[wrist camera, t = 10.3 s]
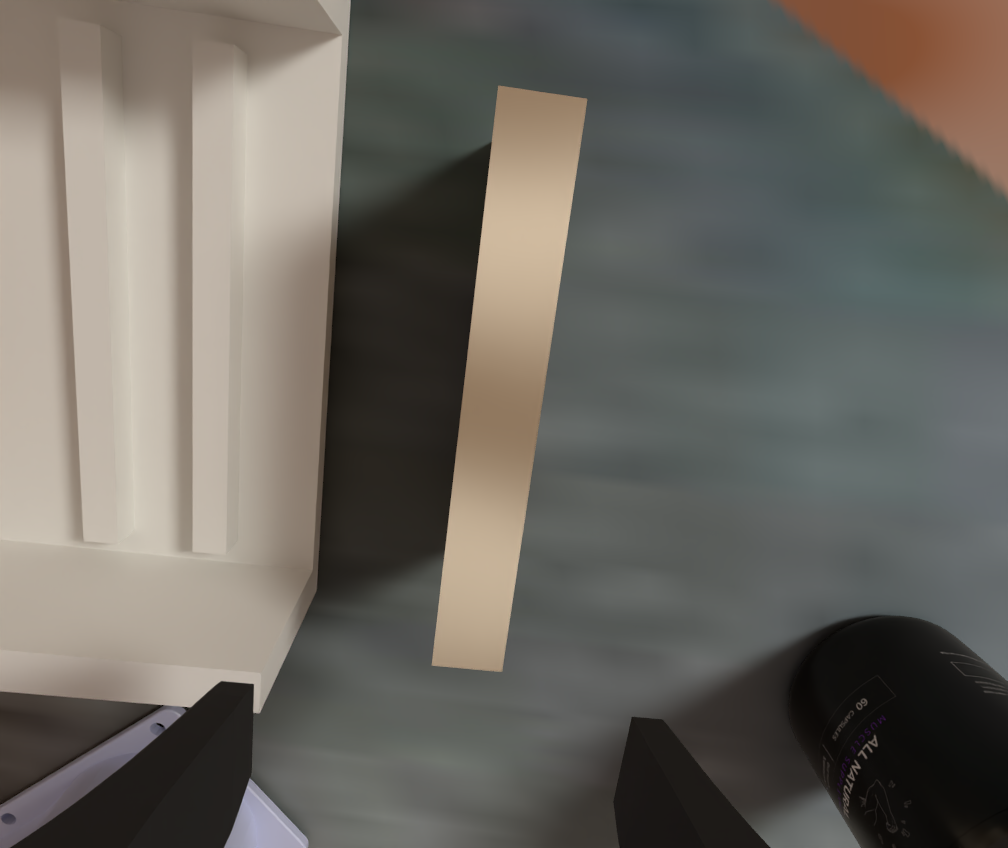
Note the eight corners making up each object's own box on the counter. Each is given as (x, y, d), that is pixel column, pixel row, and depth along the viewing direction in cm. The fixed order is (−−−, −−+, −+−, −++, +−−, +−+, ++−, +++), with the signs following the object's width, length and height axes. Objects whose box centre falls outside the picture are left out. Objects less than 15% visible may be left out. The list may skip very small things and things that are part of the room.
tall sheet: (495, 529, 22) (501, 672, 15) (448, 525, 22) (431, 665, 15) (547, 150, 19) (586, 99, 12) (492, 142, 19) (498, 85, 12)
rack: (316, 590, 23) (259, 713, 17) (-116, 548, 22) (-333, 663, 16) (351, -7, 18) (287, -124, 12) (-206, -94, 17) (-568, -265, 11)
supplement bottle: (754, 656, 24) (1009, 1051, 12) (935, 578, 23) (1384, 919, 12) (815, 791, 26) (1087, 1246, 14) (985, 722, 25) (1416, 1141, 13)
